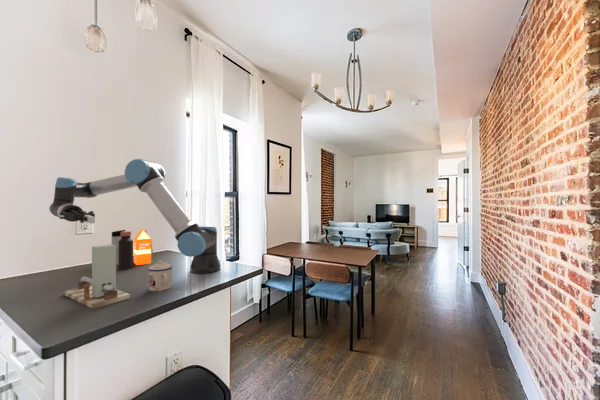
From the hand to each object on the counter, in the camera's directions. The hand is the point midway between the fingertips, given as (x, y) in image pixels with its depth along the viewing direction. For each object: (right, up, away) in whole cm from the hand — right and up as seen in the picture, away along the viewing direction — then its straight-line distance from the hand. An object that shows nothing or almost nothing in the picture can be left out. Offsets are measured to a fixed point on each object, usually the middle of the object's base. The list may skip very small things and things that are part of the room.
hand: (92, 220), depth 118 cm
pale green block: (+15, -26, -14) cm, 33 cm away
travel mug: (-17, -29, +43) cm, 54 cm away
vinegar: (-7, -29, +34) cm, 45 cm away
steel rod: (+9, -25, -11) cm, 29 cm away
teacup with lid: (+30, -29, -2) cm, 41 cm away
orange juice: (-6, -29, +47) cm, 56 cm away
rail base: (+9, -29, -11) cm, 32 cm away
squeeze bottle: (-11, -29, +61) cm, 68 cm away
